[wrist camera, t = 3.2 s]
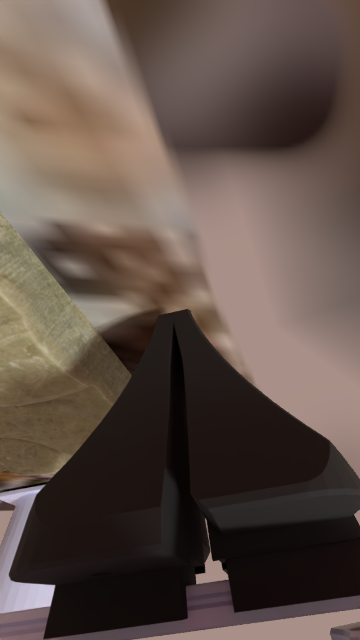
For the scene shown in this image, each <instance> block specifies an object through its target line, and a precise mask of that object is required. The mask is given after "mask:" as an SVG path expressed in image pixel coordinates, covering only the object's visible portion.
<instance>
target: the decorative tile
mask: <svg viewBox="0 0 360 640" xmlns="http://www.w3.org/2000/svg"><path fill="white" fill-rule="evenodd" d="M131 377H132V375H131V374H130V372H129V371H128V370H127V369H126V367H125V366H124V365H123V364H122V362H121V361H120V360H119V358H118V357H117V356H116V355H115V353H114V352H113V351H112V349H111V348H110V347H109V346H108V344H107V343H106V342H105V341H104V339H103V338H102V337H101V335H100V334H99V333H98V332H97V330H96V329H95V328H94V327H93V325H92V324H91V323H90V322H89V320H88V319H87V318H86V317H85V316H84V314H83V313H82V312H81V311H80V309H79V308H78V307H77V306H76V305H75V303H74V302H73V301H72V300H71V299H70V297H69V296H68V295H67V294H66V292H65V291H64V290H63V289H62V287H61V286H60V285H59V284H58V283H57V281H56V280H55V279H54V278H53V276H52V275H51V274H50V273H49V271H48V270H47V269H46V268H45V266H44V265H43V264H42V263H41V262H40V260H39V259H38V258H37V257H36V255H35V254H34V253H33V251H32V250H31V249H30V248H29V246H28V245H27V244H26V243H25V241H24V240H23V239H22V238H21V236H20V235H19V234H18V233H17V232H16V230H15V229H14V228H13V227H12V225H11V224H10V223H9V222H8V220H7V219H6V218H5V217H4V215H3V214H2V213H1V212H0V472H2V471H5V470H10V471H11V472H13V473H16V474H21V475H25V476H28V475H45V474H53V473H55V472H57V471H59V470H60V469H61V468H62V466H63V465H64V464H65V463H66V462H67V461H68V460H69V459H70V458H71V457H72V456H73V455H74V454H75V453H76V451H77V450H78V449H79V448H80V447H81V446H82V444H83V443H84V442H85V441H86V439H87V438H88V437H89V436H90V434H91V433H92V432H93V431H94V430H95V428H96V427H97V426H98V425H99V423H100V422H101V421H102V420H103V418H104V417H105V416H106V414H107V413H108V412H109V410H110V409H111V407H112V406H113V404H114V403H115V402H116V400H117V399H118V397H119V396H120V394H121V393H122V391H123V390H124V388H125V386H126V385H127V383H128V382H129V380H130V378H131Z"/></svg>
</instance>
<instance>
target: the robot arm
mask: <svg viewBox="0 0 360 640" xmlns="http://www.w3.org/2000/svg"><path fill="white" fill-rule="evenodd" d="M0 500H2V501H5V502H7V503H10V504H12V505H15V506H16V507H15V509H14V512H13V514H12V517H11V519H10V522H9V525H8V527H7V530H6V533H5V535H4V538H3V540H2V543H1V546H0V640H132V639H140V638H147V637H154V636H162V635H169V634H176V633H184V632H191V631H198V630H205V629H213V628H220V627H228V626H234V625H242V624H250V623H257V622H264V621H272V620H279V619H286V618H294V617H301V616H308V615H316V614H323V613H330V612H338V611H345V610H353V609H360V525H359V523H358V521H357V520H356V518H355V516H354V514H355V513H356V512H357V511H358V510H360V479H359V478H358V476H357V475H356V473H355V472H354V471H353V469H352V468H351V467H350V465H349V464H348V462H347V461H346V460H345V458H344V457H343V456H342V455H341V453H340V452H339V451H338V450H337V449H336V447H335V446H334V445H333V444H332V443H331V442H330V441H329V440H328V439H327V438H325V437H323V436H322V435H321V434H319V433H317V432H316V431H314V430H313V429H311V428H310V427H308V426H307V425H305V424H304V423H303V422H301V421H300V420H298V419H297V418H295V417H294V416H292V415H291V414H289V413H288V412H287V411H285V410H284V409H283V408H281V407H280V406H279V405H277V404H276V403H274V402H273V401H272V400H271V399H269V398H268V397H267V396H265V395H264V394H263V393H262V392H261V391H259V390H258V389H257V388H256V387H254V386H253V385H252V384H251V383H250V382H248V381H247V380H246V379H245V378H244V377H243V376H242V375H241V374H239V373H238V372H237V371H236V370H235V369H234V368H233V367H232V366H231V365H230V364H229V363H228V362H227V361H226V360H225V359H224V358H223V357H222V356H221V355H220V353H219V352H218V351H217V350H216V349H215V348H214V347H213V345H212V344H211V343H210V342H209V340H208V339H207V338H206V337H205V335H204V334H203V333H202V331H201V330H200V328H199V327H198V325H197V324H196V322H195V320H194V318H193V316H192V314H191V311H190V310H188V309H185V310H181V311H176V312H172V313H167V314H163V315H159V317H158V319H157V322H156V325H155V328H154V330H153V333H152V335H151V338H150V340H149V343H148V345H147V347H146V349H145V352H144V354H143V356H142V358H141V360H140V362H139V364H138V366H137V367H136V369H135V371H134V373H133V375H132V377H131V378H130V380H129V382H128V383H127V385H126V386H125V388H124V390H123V391H122V393H121V394H120V396H119V397H118V399H117V400H116V402H115V403H114V404H113V406H112V407H111V409H110V410H109V412H108V413H107V414H106V416H105V417H104V418H103V420H102V421H101V422H100V423H99V425H98V426H97V427H96V428H95V430H94V431H93V432H92V433H91V434H90V436H89V437H88V438H87V439H86V441H85V442H84V443H83V444H82V446H81V447H80V448H79V449H78V450H77V451H76V453H75V454H74V455H73V456H72V457H71V458H70V459H69V460H68V461H67V462H66V464H65V465H64V466H63V467H62V468H61V469H60V470H59V471H58V472H57V473H56V474H55V475H54V476H53V477H52V479H51V480H50V481H49V482H48V483H47V484H46V485H40V486H35V487H29V488H24V489H18V490H13V491H7V492H2V493H0ZM205 518H206V520H207V525H208V532H209V540H210V546H209V540H208V535H207V528H206V523H205ZM210 547H211V554H212V560H213V561H217V560H219V561H220V562H221V563H222V568H223V570H224V571H225V572H226V573H227V574H228V578H229V580H223V581H216V582H209V583H203V584H196V576H195V574H201V573H205V564H204V563H205V562H206V560H207V558H208V555H209V553H210ZM330 635H331V638H332V640H360V622H357V623H352V624H348V625H343V626H338V627H334V628H331V631H330Z"/></svg>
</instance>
